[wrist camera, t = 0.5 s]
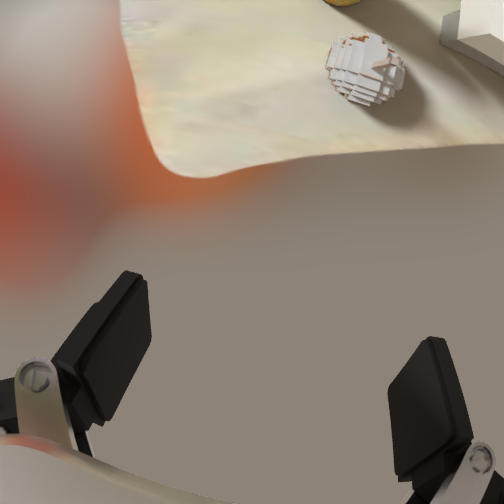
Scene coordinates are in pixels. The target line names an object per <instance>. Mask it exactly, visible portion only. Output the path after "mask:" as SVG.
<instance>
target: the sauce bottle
mask: <svg viewBox="0 0 504 504" xmlns="http://www.w3.org/2000/svg"><path fill="white" fill-rule="evenodd" d="M323 1H325V2H326V3H328V4H332V5H336V6H350V5H352V4H355V3H357V2H359V1H360V0H323Z"/></svg>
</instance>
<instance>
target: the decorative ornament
mask: <svg viewBox="0 0 504 504" xmlns="http://www.w3.org/2000/svg"><path fill="white" fill-rule="evenodd" d="M384 41H385V39H384V38H381V36H379V35H376V34H373V33H367V32H363V33H362V37H360V36H357V35H354V34H351V35H350V37H348V36H346V37H345V38H344V39H341V38H340V39H339V41H338V43H332V46H331V50H330V51H329V54H328V58H327V63H326V67H325V69H327V70H330V72H329V76H328V79H329V80H333V81H332V85H334V86H336V89H335V91H338V92H341V93H345V94H344V98H345V99H348V100H352V101H355V102H358V103H361V104H364V105H367V106H370V104H371V102H374V103H376V104H380V105H381V104H382V101H387V102H388V99H389V98H393V99H394V97H395V93H396V90H399V91H402V87H403V83H404V79H405V75H406V71H405V68H406V67H405V66H402V64H403V60H402V59H401V58H402V57H400V56H398V54H397V53H395V51H392V49H393V48H392V47H389V46H388V45H385V43H384Z"/></svg>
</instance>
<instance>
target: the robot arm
mask: <svg viewBox="0 0 504 504" xmlns="http://www.w3.org/2000/svg"><path fill="white" fill-rule="evenodd" d="M151 337H152V335H151V326H150V314H149V301H148V288H147V281H146V280H143V276H142V275H141V274H137V273H134V272H130V271H124V272H123V273H122V274H121V275H120V276H119V278H118V279H117V280H116V282H115V283H114V284H113V285H112V286H111V288H110V289H109V290H108V291H107V293H106V294H105V295H104V296H103V298H102V299H101V300H100V301H99V302H97V303H94V304H93V305H92V306H91V308H90V309H89V310H88V311H87V313H86V314H85V315H84V317H83V318H82V319H81V320H80V322H79V323H78V324H77V326H76V327H75V328H74V330H73V331H72V332H71V334H70V335H69V336H68V338H67V339H66V340H65V342H64V343H63V344H62V346H61V347H60V348H59V350H58V351H57V353H56V354H55V356H54V357H53V358H52V360H51V361H48V360H47V359H44V358H41V357H33V358H31V359H27V360H26V361H24V362H23V363H22V364H21V365H20V366H19V367H18V368H17V371H16V373H15V377H13V378H9V379H4V380H0V504H238V503H233V502H228V501H223V500H219V499H214V498H210V497H206V496H202V495H198V494H194V493H190V492H186V491H183V490H180V489H176V488H173V487H169V486H166V485H163V484H160V483H157V482H154V481H151V480H148V479H146V478H143V477H140V476H137V475H135V474H132V473H129V472H127V471H124V470H121V469H119V468H116V467H114V466H111V465H109V464H107V463H104V462H102V461H100V460H97V459H96V456H95V453H94V450H93V447H92V444H91V440H90V437H89V434H88V430H89V429H90V427H91V425H92V423H95V424H98V425H100V426H103V425H104V423H105V421H110V420H111V419H112V417H113V415H114V413H115V411H116V409H117V407H118V405H119V403H120V401H121V399H122V397H123V395H124V393H125V391H126V389H127V387H128V385H129V383H130V381H131V380H132V378H133V376H134V374H135V372H136V370H137V368H138V366H139V364H140V362H141V360H142V358H143V357H144V354H145V352H146V351H147V349H148V347H149V345H150V342H151ZM388 401H389V410H390V419H391V429H392V439H393V440H392V441H393V454H394V469H395V474H396V475H398V482H409V481H412V488H411V489H410V491H409V492H408V493H407V495H406V496H405V498H404V499H403V500H402V502H401V503H400V504H504V478H503V477H501V476H500V475H499V474H498V473H497V472H496V471H495V470H494V469H495V465H496V458H495V454H494V452H493V450H492V448H491V447H490V446H489V445H488V444H486V443H484V442H480V441H478V442H475V443H473V444H472V443H471V440H472V439H473V438H474V437H473V432H472V427H471V423H470V419H469V415H468V411H467V407H466V404H465V400H464V396H463V393H462V389H461V386H460V383H459V379H458V376H457V373H456V370H455V367H454V364H453V361H452V358H451V355H450V352H449V349H448V346H447V344H446V341H445V339H443V338H439V337H432V336H430V337H428V338H427V339H426V340H423V341H422V342H421V343H420V345H419V346H418V348H417V349H416V350H415V352H414V353H413V355H412V356H411V357H410V359H409V360H408V362H407V363H406V364H405V366H404V367H403V368H402V370H401V371H400V372H399V374H398V375H397V377H396V378H395V379H394V380H393V382H392V383H391V384H390V386H389V388H388Z"/></svg>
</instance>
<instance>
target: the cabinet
mask: <svg viewBox="0 0 504 504" xmlns="http://www.w3.org/2000/svg"><path fill="white" fill-rule="evenodd" d="M440 44H442V45H444V46H446V47H449V48H451V49H453V50H455V51H457V52H459V53H461V54H463V55H465V56H467V57H469V58H471V59H473V60H475V61H476V62H478V63H480V64H482V65H484V66H486V67H487V68H489V69H491V70H492V71H494V72H496V73H498V74H499V75H501V76H502V77H504V0H461V9H460V10H458V11H456V12H453V13H451V14H448V15H446V16H443V22H442V30H441V37H440Z"/></svg>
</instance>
